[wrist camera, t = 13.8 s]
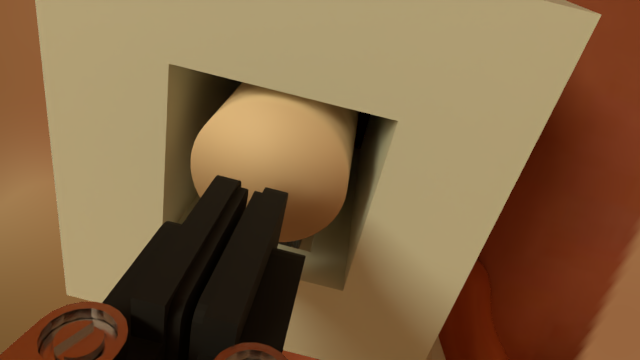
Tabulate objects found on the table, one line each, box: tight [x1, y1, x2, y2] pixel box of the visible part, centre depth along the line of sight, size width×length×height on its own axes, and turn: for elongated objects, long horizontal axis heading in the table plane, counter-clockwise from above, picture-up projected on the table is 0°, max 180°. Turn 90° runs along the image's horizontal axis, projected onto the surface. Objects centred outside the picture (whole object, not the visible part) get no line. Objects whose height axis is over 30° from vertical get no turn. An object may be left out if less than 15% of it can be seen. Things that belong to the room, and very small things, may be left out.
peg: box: [191, 82, 359, 242], centre depth 16 cm, size 4×4×10 cm
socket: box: [35, 0, 601, 360], centre depth 16 cm, size 12×12×10 cm
